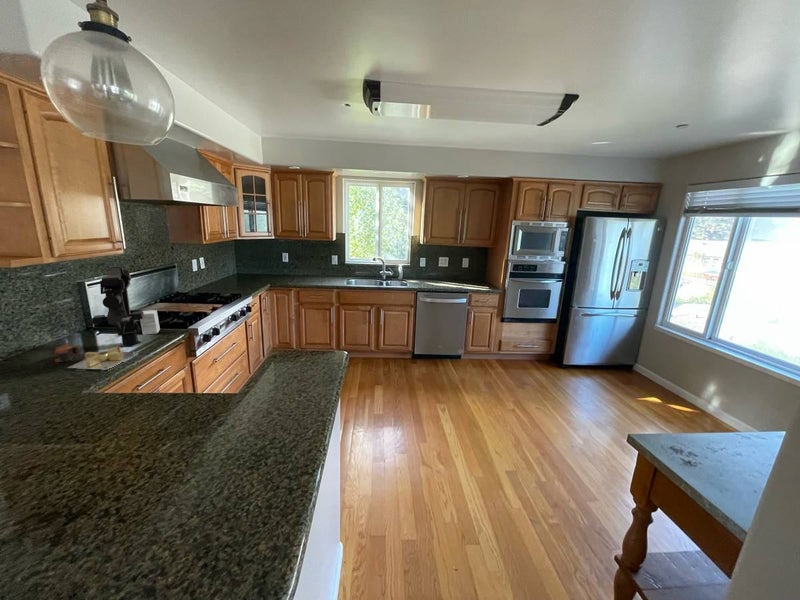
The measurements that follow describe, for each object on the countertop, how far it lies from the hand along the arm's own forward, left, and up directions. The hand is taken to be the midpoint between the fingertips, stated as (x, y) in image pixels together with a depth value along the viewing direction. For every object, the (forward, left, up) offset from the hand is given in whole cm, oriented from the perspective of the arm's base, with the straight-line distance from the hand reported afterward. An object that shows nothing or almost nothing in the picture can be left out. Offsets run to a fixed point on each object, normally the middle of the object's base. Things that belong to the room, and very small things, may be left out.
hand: (122, 334), depth 159 cm
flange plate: (+6, -5, -12) cm, 15 cm away
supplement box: (-35, -13, -12) cm, 39 cm away
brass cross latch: (+6, -5, -11) cm, 13 cm away
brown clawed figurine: (+4, -25, -12) cm, 29 cm away
